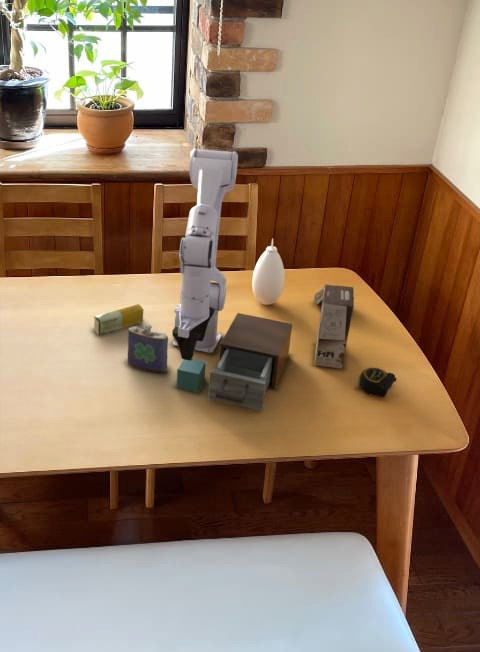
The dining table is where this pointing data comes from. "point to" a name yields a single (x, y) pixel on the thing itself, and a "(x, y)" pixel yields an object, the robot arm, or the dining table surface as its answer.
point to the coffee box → (334, 325)
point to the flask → (147, 349)
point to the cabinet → (260, 340)
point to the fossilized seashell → (319, 297)
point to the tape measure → (376, 381)
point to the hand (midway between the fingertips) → (192, 349)
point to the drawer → (241, 379)
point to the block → (191, 375)
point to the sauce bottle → (268, 276)
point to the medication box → (118, 319)
